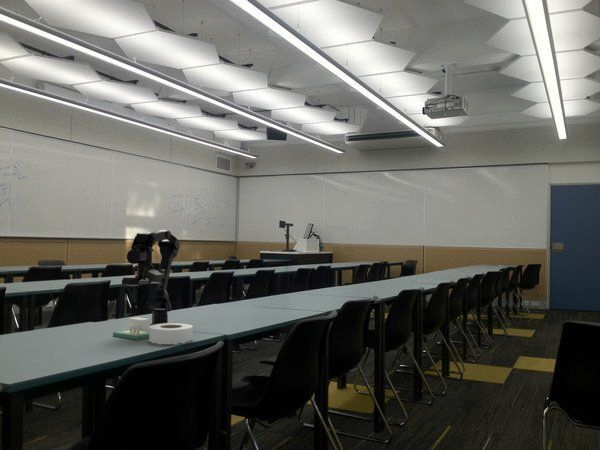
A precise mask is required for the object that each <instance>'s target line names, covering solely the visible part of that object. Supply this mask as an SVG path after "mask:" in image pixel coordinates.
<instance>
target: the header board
mask: <svg viewBox="0 0 600 450" xmlns="http://www.w3.org/2000/svg"><path fill="white" fill-rule="evenodd" d="M139 327H140V326H137V330H136V325H134V326H133V325H130V329H129V328H128V329H124V330H119V331H113V332H112V336H113V337H117V338H121V337H122V338H123V339H127V338H129V339H128V340H133V339H136V340H135V341H139V340H138V339H141V340H144V339H143V338H146V339H149V332H148V331H141V330H139Z"/></svg>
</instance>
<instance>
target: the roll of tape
mask: <svg viewBox="0 0 600 450" xmlns="http://www.w3.org/2000/svg"><path fill="white" fill-rule="evenodd" d="M193 328H194V326H193V325H192V324H188V323H179V322H168V323H164V324H155V325H150V327H149V338H148V342H149V341H150V342H152V343H151V344H153V343H157V344H156V345H161V344H173V345H175V344H174V343H183V342H188V341H191V340H192V341H193V336H194V334H193V333H194V331H193V330H194V329H193ZM192 341H191V342H192ZM150 342H149V343H150ZM188 343H189V342H188ZM183 344H184V343H183Z"/></svg>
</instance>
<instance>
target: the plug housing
mask: <svg viewBox="0 0 600 450" xmlns="http://www.w3.org/2000/svg"><path fill="white" fill-rule="evenodd" d="M150 324H152V318H147V317H146V318H145V317H129V318H128V330H129V329H130V325H133V326H134V325H136V330H137V326H140V327H139V330H141V331H148V332H149V327H150V326H151V325H150Z"/></svg>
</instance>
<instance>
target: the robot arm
mask: <svg viewBox="0 0 600 450" xmlns="http://www.w3.org/2000/svg"><path fill="white" fill-rule="evenodd" d="M177 238H178V237H176V236H174V235H173V234H172V232H171V231H170V230H168V229H159V230H158V231H157V230H156V231H153V232H142V231H141V232H140V231H139V232H137V233H136V235H135V236H134V239H133V242H132V243H131V247H130V248H131V249H130V250H128V252H127V253H126V260H127V262H128V263H130V264H131V265H135V269H137V272H136V273H137V275H135V276H134V277H133V276H127V277H123V278H122V279H121V285H123V286H124V287H126V289H127V291H128V293H129V294H130V297H131V298H132V301H133V303H137V300H138V289H139V287H140V285H139V284H140V283H148V287H149V294H148V297H147V300H146V304H147V311H148V312H151V324H150V326H151V325H155V324H164V323H169V322H168V321H169V320H168V318H169V317H168V316H169V315H168V312H171V311H172V304H171V302H170V299H169V297H170V296H169V294H168V290H167V288H168V283H169V278H170V274H171V273H170V272H171V269H172V263H173V260H174V259H175V258H176V257H177V255H178V253H179V250H180V247H181V246H180V242H179V240H178V239H177ZM156 244H157V246H158V249H159V253H160V256H161V259H160V264H159V268H158V270H157V269H155V265H153V252H154V251H155V250H154V248H153V247H154V246H155V245H156Z"/></svg>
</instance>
